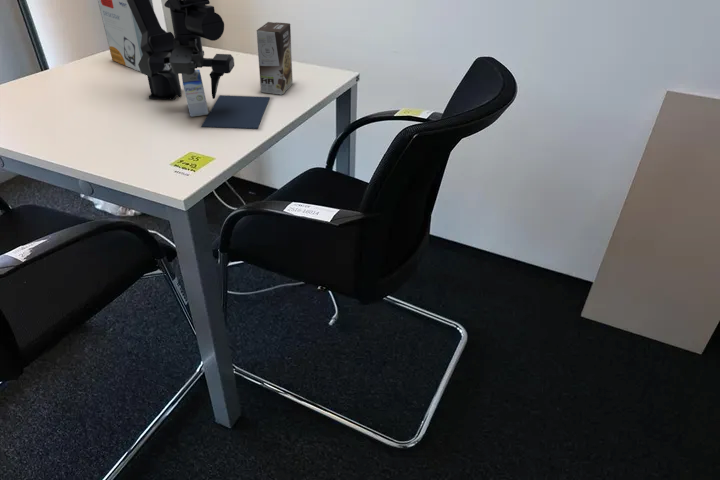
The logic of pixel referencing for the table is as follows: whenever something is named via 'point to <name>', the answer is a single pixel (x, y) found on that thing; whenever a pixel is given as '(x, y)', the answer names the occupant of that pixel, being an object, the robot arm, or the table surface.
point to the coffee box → (275, 57)
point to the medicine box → (195, 94)
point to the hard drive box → (122, 32)
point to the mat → (236, 112)
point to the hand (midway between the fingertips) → (197, 97)
